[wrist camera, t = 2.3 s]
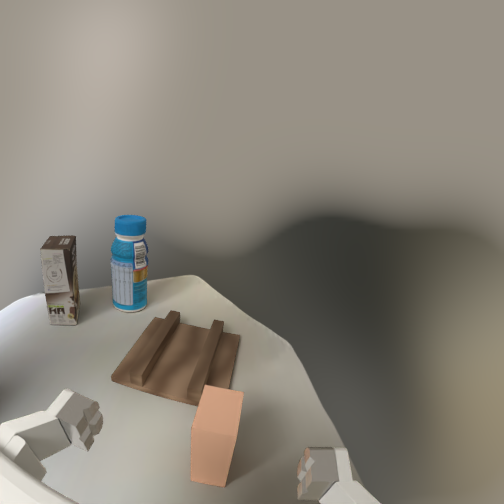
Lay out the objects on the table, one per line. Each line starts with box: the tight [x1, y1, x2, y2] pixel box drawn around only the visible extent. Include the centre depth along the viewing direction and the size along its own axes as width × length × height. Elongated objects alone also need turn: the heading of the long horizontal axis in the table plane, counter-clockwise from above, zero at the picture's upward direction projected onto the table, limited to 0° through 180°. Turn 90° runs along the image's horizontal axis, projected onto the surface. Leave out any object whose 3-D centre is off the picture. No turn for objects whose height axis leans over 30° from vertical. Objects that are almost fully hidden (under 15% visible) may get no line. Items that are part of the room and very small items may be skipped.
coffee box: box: [40, 236, 80, 325], centre depth 48 cm, size 9×6×16 cm
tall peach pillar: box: [191, 385, 244, 487], centre depth 25 cm, size 4×6×12 cm, turn 175°
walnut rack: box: [111, 311, 240, 406], centre depth 46 cm, size 18×20×4 cm
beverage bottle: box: [111, 215, 148, 312], centre depth 58 cm, size 8×8×20 cm
